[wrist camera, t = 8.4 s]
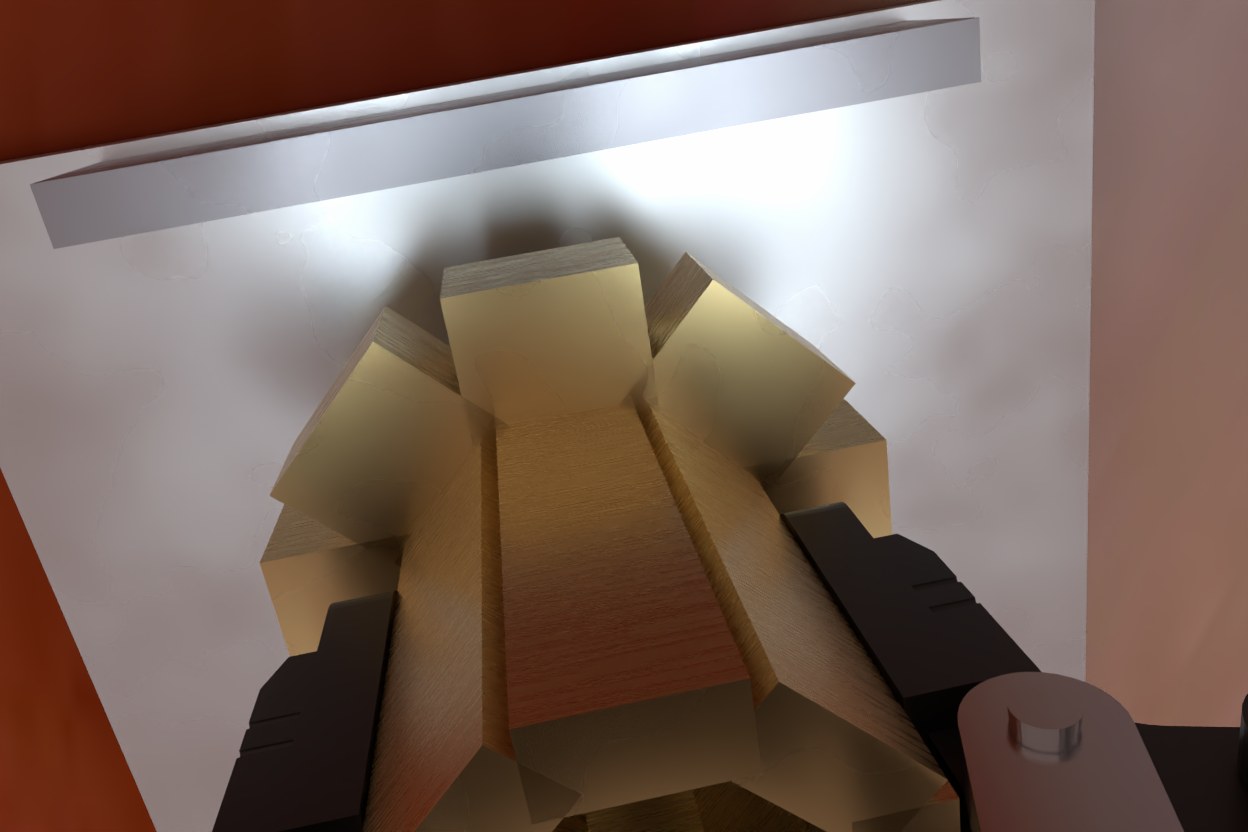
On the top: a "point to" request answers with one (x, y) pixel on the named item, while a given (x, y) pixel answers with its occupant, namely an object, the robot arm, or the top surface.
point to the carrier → (534, 221)
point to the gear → (601, 561)
